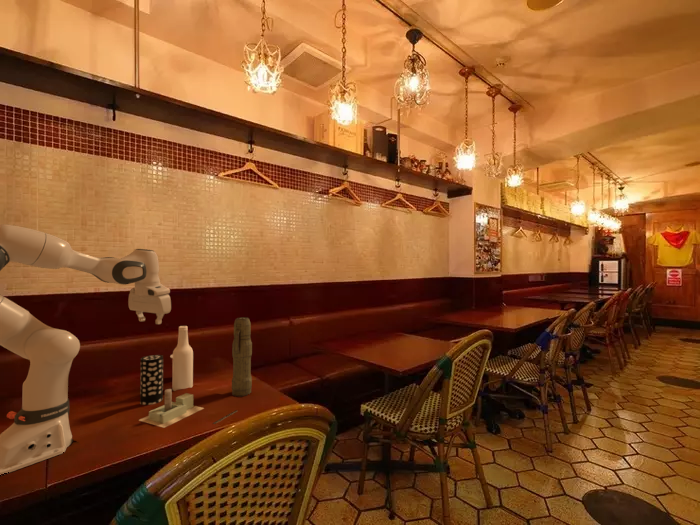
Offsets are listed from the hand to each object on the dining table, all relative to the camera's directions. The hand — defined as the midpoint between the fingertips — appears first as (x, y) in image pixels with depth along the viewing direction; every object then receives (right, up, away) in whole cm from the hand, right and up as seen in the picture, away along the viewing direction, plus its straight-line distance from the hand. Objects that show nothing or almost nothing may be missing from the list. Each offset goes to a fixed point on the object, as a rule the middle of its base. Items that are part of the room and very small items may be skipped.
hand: (150, 322), depth 137 cm
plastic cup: (-8, -37, +41) cm, 55 cm away
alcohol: (+1, -37, +25) cm, 44 cm away
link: (+12, -35, -5) cm, 37 cm away
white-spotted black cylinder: (-4, -37, +7) cm, 37 cm away
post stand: (+12, -36, -5) cm, 39 cm away
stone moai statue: (+30, -37, +21) cm, 52 cm away
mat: (+28, -37, -2) cm, 46 cm away
